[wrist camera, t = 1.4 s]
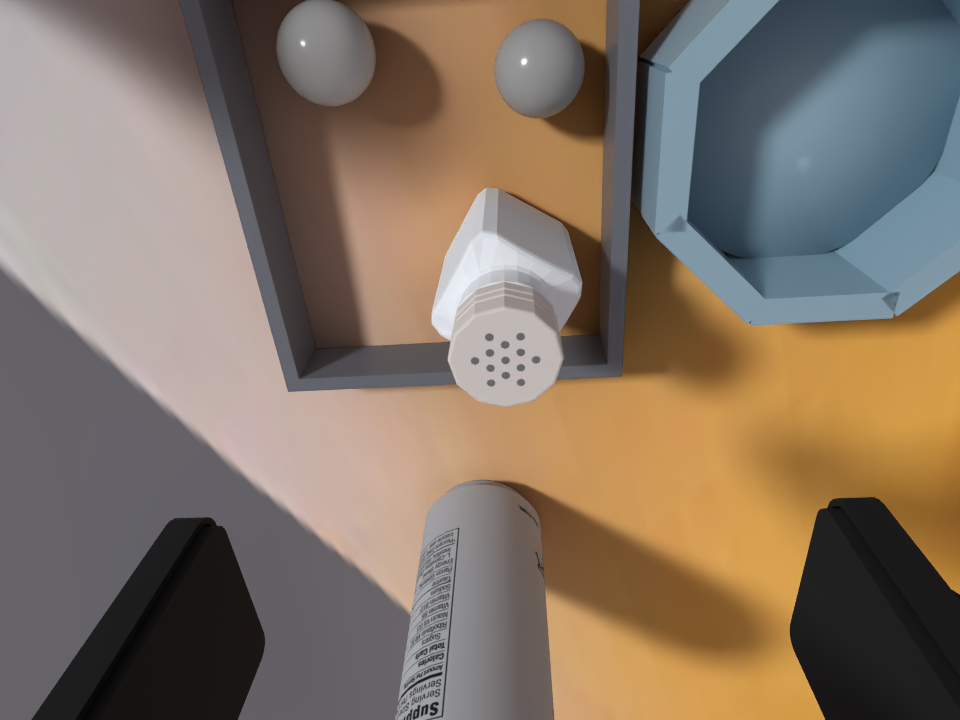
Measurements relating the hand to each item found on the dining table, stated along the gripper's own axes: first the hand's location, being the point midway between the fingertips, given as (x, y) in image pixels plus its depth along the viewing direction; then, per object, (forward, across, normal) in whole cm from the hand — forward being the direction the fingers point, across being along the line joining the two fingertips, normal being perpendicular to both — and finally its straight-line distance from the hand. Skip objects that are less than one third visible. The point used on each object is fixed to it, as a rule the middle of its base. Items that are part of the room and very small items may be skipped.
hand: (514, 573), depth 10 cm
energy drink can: (+18, +2, +15) cm, 23 cm away
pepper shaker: (+17, 0, 0) cm, 17 cm away
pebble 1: (+17, +6, -8) cm, 19 cm away
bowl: (+17, -11, -4) cm, 21 cm away
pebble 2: (+17, -1, -6) cm, 18 cm away
